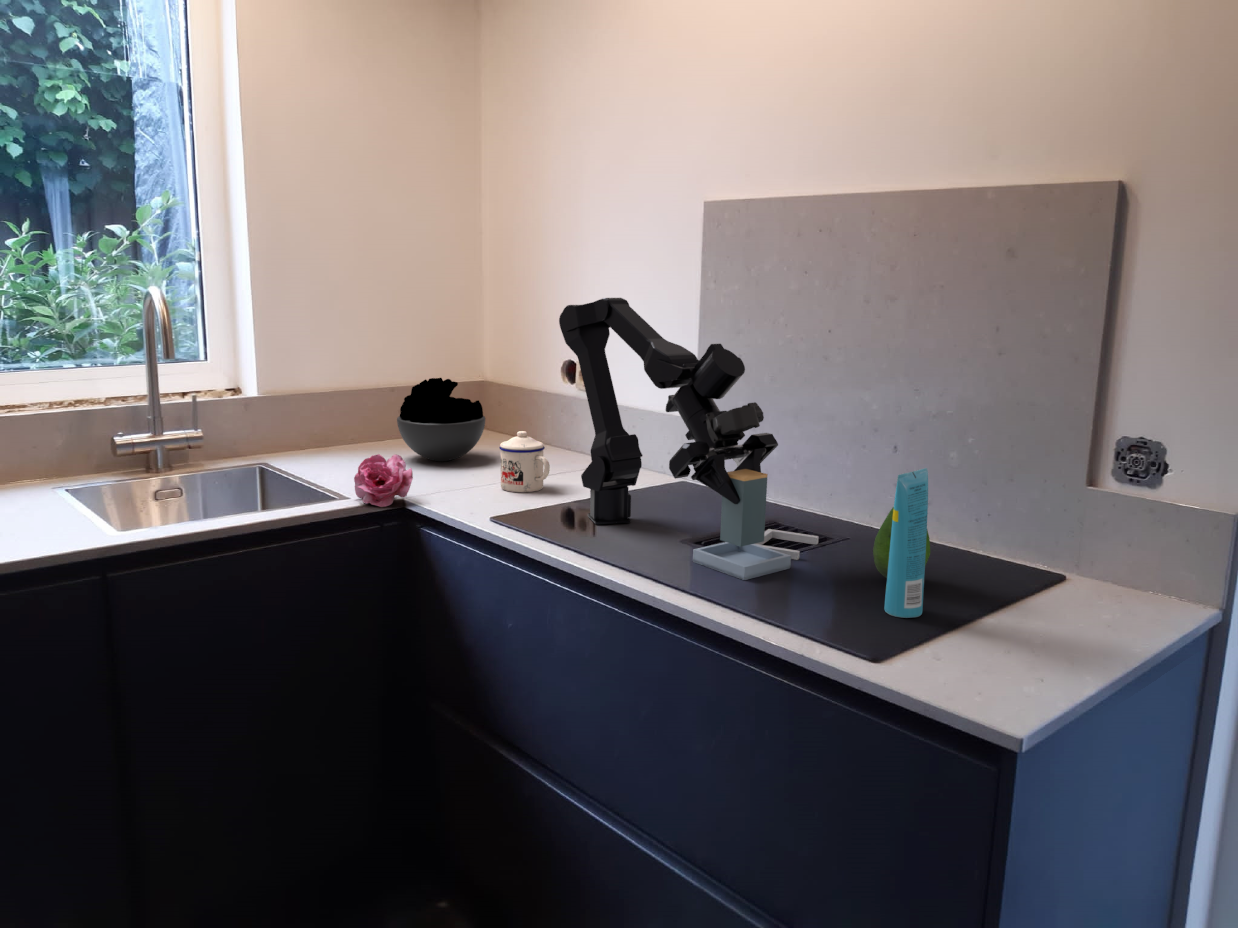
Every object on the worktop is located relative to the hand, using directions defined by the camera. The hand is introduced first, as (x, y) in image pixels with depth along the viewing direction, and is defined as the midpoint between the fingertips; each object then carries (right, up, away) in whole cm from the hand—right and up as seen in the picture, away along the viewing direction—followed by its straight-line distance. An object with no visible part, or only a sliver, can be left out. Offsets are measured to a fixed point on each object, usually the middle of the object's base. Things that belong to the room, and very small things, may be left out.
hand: (750, 500), depth 143 cm
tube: (+18, -14, -16) cm, 28 cm away
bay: (+8, -8, +13) cm, 17 cm away
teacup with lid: (-38, 0, +51) cm, 64 cm away
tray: (-1, -10, +3) cm, 11 cm away
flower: (-64, -2, +39) cm, 75 cm away
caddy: (-1, -6, +2) cm, 7 cm away
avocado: (+21, -12, -3) cm, 25 cm away
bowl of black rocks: (-61, +6, +78) cm, 99 cm away
